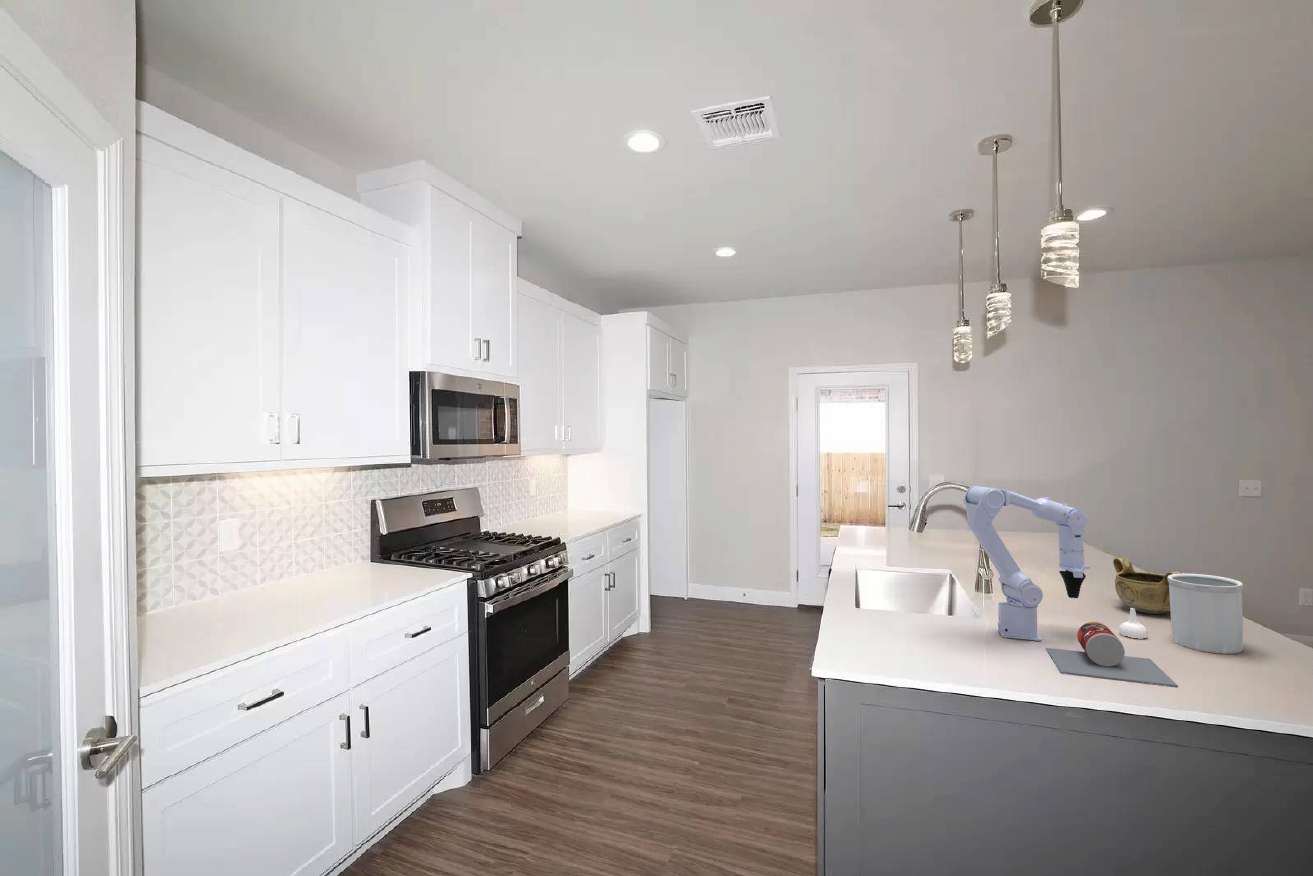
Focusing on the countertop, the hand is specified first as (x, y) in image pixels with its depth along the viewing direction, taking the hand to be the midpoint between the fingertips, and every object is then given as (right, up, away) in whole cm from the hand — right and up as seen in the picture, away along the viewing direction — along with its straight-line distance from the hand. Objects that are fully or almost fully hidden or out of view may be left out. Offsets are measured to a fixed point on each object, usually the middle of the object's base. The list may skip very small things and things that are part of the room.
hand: (1073, 597), depth 168 cm
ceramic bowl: (+38, -10, +20) cm, 44 cm away
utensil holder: (+28, -10, -10) cm, 32 cm away
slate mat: (-8, -11, -23) cm, 27 cm away
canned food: (-5, -6, -14) cm, 16 cm away
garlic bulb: (+15, -11, -2) cm, 19 cm away
